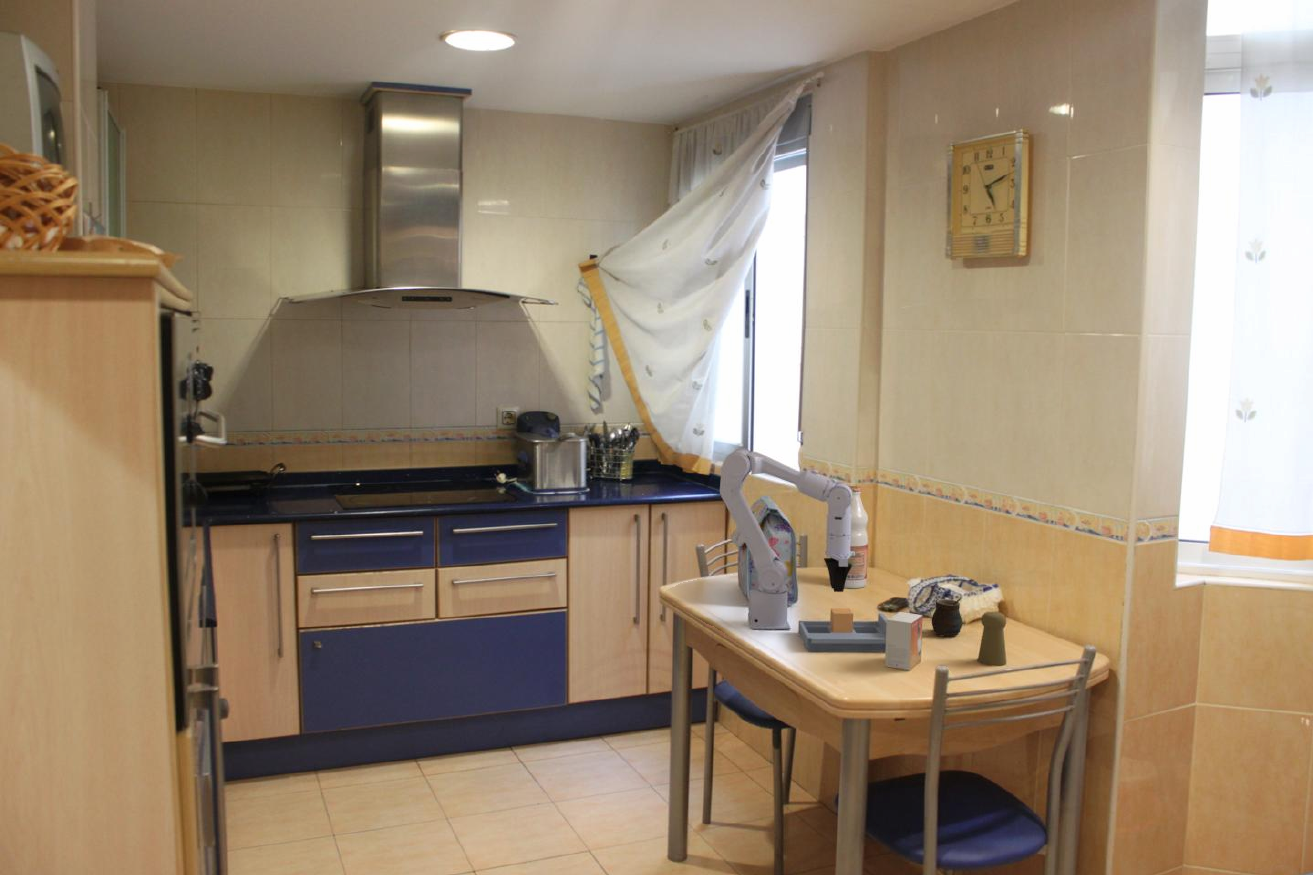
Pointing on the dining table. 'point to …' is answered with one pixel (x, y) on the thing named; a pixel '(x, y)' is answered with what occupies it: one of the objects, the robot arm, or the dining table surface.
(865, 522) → the fruit juice
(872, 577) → the dining table surface
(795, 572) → the lunch bag
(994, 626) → the olive green pepper mill
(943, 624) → the mate gourd
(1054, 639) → the dining table surface
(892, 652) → the small box
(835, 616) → the block
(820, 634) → the tray
